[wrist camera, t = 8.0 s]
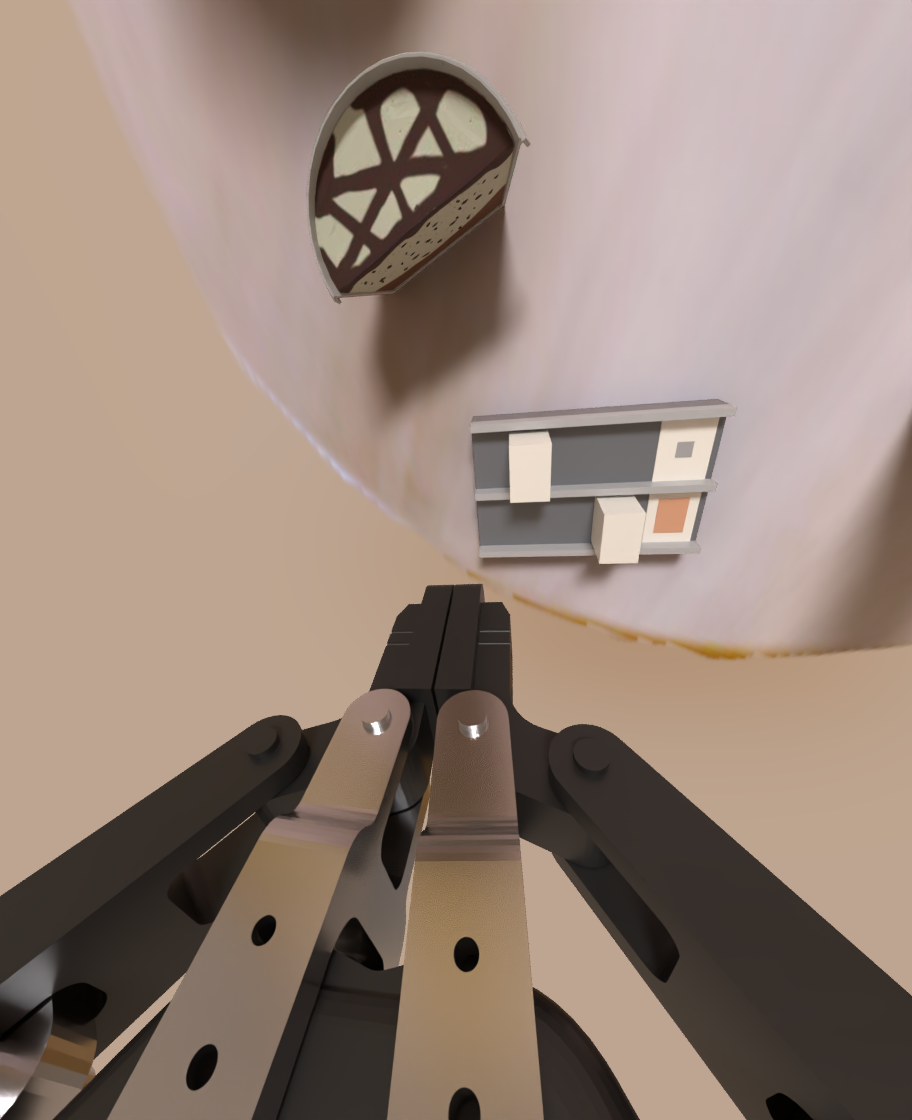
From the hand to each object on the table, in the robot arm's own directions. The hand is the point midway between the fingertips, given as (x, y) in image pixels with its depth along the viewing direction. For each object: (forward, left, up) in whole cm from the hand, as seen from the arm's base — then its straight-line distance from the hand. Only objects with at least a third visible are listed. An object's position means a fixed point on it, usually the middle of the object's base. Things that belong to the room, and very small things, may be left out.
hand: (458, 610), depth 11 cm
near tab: (-3, +3, -24) cm, 25 cm away
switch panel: (-8, +6, -26) cm, 28 cm away
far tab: (-10, +9, -24) cm, 28 cm away
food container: (+4, -14, -27) cm, 30 cm away
